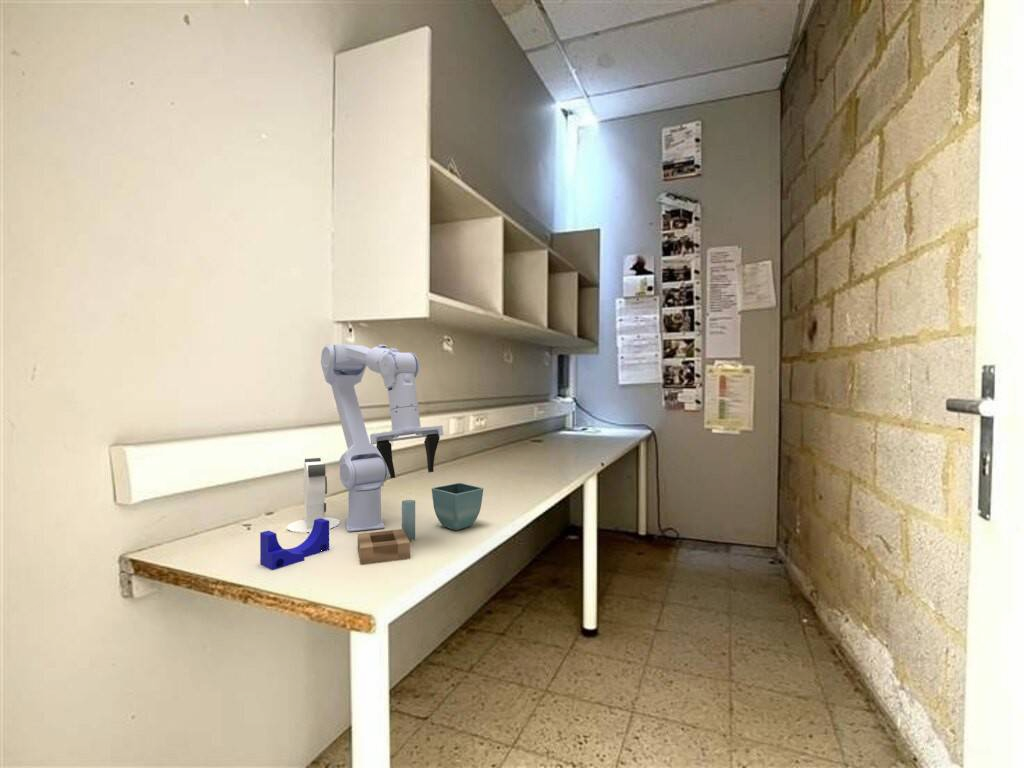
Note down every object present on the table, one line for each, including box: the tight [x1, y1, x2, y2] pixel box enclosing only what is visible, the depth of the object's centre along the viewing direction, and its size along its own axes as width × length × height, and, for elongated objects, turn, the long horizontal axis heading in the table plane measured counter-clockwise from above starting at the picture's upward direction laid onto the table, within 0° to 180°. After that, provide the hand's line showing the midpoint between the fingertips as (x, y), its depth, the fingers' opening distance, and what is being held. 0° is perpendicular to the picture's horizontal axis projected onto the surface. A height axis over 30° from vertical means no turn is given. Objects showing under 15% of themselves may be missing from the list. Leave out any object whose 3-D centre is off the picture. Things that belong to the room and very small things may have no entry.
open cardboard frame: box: [357, 528, 411, 565], centre depth 95 cm, size 9×9×3 cm
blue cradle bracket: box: [259, 518, 330, 571], centre depth 93 cm, size 12×4×6 cm, turn 142°
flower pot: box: [431, 482, 485, 531], centre depth 113 cm, size 9×9×9 cm
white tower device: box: [286, 457, 341, 534], centre depth 113 cm, size 12×11×15 cm
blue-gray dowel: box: [401, 499, 416, 542], centre depth 104 cm, size 3×3×8 cm
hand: (412, 475), depth 99 cm, fingers open, 7 cm apart
